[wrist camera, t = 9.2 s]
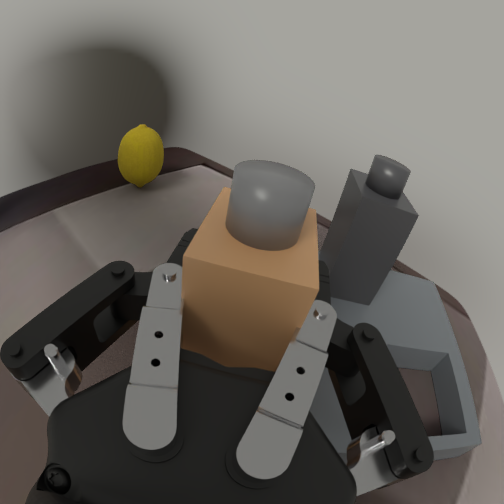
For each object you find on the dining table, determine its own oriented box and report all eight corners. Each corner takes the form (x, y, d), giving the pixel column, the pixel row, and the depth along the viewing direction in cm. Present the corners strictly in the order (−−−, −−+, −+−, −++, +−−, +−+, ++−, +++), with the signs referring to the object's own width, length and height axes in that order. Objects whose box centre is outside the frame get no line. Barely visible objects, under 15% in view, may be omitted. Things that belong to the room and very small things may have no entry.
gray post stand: (282, 459, 13) (426, 319, 6) (299, 270, 27) (344, 138, 19) (458, 456, 13) (593, 348, 6) (421, 299, 27) (481, 195, 19)
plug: (181, 405, 15) (187, 193, 7) (203, 340, 19) (231, 142, 11) (249, 423, 15) (344, 231, 7) (261, 355, 19) (329, 167, 11)
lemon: (110, 185, 33) (110, 123, 28) (145, 174, 37) (148, 117, 32) (133, 202, 31) (134, 133, 26) (171, 188, 35) (176, 125, 30)
